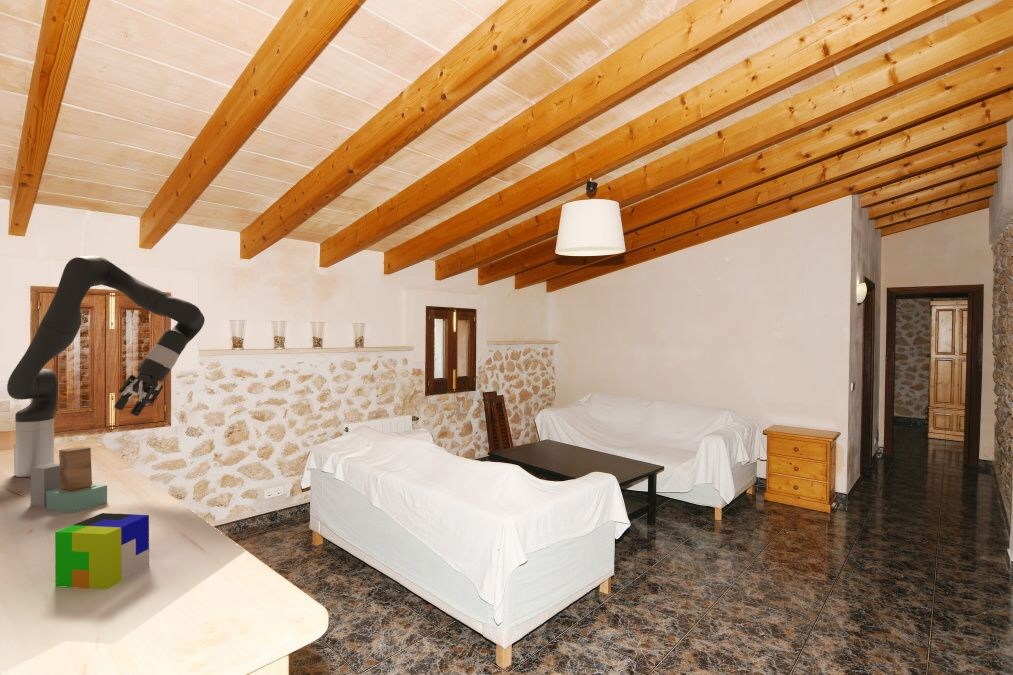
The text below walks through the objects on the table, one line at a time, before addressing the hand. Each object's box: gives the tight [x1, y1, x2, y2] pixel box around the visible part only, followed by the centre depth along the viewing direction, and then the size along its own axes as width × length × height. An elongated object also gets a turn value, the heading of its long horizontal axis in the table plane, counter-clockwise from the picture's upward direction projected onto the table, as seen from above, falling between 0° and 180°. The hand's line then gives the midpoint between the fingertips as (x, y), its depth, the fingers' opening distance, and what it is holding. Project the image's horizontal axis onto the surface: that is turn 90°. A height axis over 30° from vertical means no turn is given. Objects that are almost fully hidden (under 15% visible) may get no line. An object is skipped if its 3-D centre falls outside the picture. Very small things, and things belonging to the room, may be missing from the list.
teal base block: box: [45, 482, 108, 514], centre depth 140 cm, size 9×9×5 cm
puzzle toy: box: [54, 512, 150, 590], centre depth 101 cm, size 10×10×10 cm
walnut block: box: [58, 446, 93, 491], centre depth 140 cm, size 5×5×10 cm
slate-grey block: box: [30, 462, 61, 508], centre depth 141 cm, size 5×5×10 cm
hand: (125, 411), depth 154 cm, fingers open, 8 cm apart
